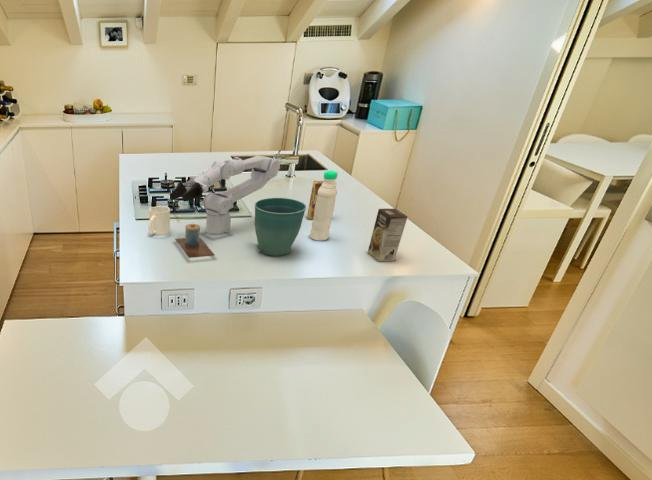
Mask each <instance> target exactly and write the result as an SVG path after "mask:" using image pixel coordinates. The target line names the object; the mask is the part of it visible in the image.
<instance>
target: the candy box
mask: <svg viewBox="0 0 652 480" xmlns="http://www.w3.org/2000/svg"><path fill="white" fill-rule="evenodd" d="M323 182H324V180H313V181H312V188H311V193H310V198H309V203H308V209H307V214H306V217H307V219H308V220H313V218H314V210H315V204H316V200H317V196H318V194H317V193H318V190H319V188H320V187H321V185H322V183H323ZM335 184H336V185H337V182H336V181H335Z"/></svg>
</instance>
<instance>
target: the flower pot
mask: <svg viewBox="0 0 652 480" xmlns="http://www.w3.org/2000/svg"><path fill="white" fill-rule="evenodd" d="M306 210H307V204H305V202H303V201H300V200H297V199H293V198H288V197H268V198H262V199H259V200H257V201H256V202H255V203H254V232H255V236H256V240H257V247H258V249H259V250H260V251H259V253H262V254H264V255H267V256H285V255H287V254H289V253H290V252H291V250H292V247H293V245H294V242H295V241H296V239H297V237H298V235H299V233H300V230H301V227H302V224H303V219H304V216H305V212H306Z"/></svg>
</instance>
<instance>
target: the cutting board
mask: <svg viewBox="0 0 652 480" xmlns="http://www.w3.org/2000/svg"><path fill="white" fill-rule="evenodd" d="M174 239H175V241H176V243H177V244H178V245H179V247H180V248H181V250H182V251H183V252H184V254H185V255H186V256H187V258H188V259H192V258H193V259H194V258H202V257H204V258H205V257H214V256H215V253H214V252H213V251H212V250H211V249H210V247H209V246H208V245H207V244H206V243H205V242H204V241H203V238H201V236H199V245H198V246H187V245H185V237H181V238H179V237H178V238H174Z"/></svg>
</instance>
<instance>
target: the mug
mask: <svg viewBox="0 0 652 480" xmlns="http://www.w3.org/2000/svg"><path fill="white" fill-rule="evenodd" d="M148 211H149V213H148V214H149V217H148V219H149V221H148V232H149V234H150V235H151V236H152V235H156V236H163V235H168V234H169V233H171V208H170V207H168V206H164V205H159V206H157V205H156V206H152V207H150V208H149V209H148Z"/></svg>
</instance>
